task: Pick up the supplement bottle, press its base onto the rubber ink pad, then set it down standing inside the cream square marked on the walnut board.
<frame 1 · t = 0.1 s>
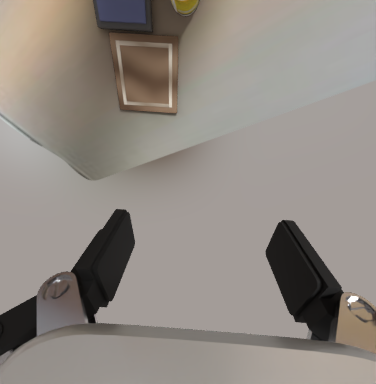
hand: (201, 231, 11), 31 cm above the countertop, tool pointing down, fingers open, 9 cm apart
marked board: (146, 76, 32), on the countertop
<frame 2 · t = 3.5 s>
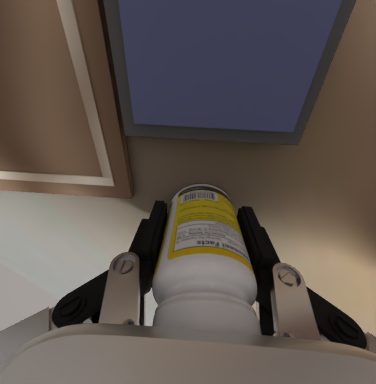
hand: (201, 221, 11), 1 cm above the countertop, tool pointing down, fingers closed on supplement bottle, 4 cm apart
marked board: (11, 95, 9), on the countertop
supplement bottle: (200, 207, 13), on the countertop, touching gripper
ink pad: (220, 28, 7), on the countertop
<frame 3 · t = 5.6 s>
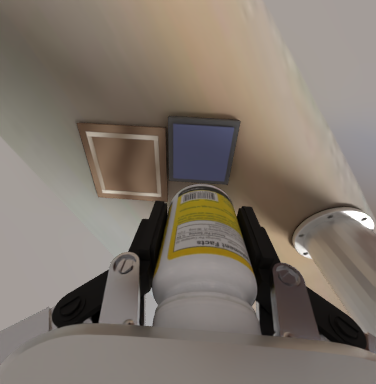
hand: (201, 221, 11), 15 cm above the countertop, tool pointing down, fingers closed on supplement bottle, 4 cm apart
marked board: (128, 165, 26), on the countertop
supplement bottle: (200, 207, 13), point 13 cm above the countertop, touching gripper
ink pad: (200, 151, 24), on the countertop
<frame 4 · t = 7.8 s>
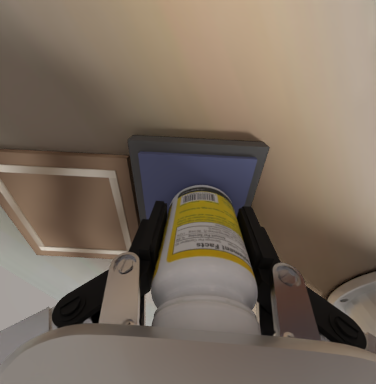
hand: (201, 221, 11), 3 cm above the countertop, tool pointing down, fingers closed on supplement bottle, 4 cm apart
marked board: (75, 212, 16), on the countertop
supplement bottle: (200, 208, 13), point 2 cm above the countertop, touching gripper
ink pad: (194, 192, 14), on the countertop
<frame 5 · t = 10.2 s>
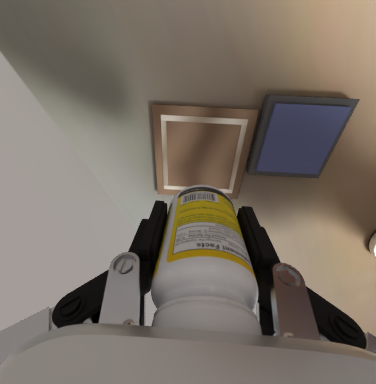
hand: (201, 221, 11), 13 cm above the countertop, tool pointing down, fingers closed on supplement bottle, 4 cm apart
marked board: (200, 156, 22), on the countertop
supplement bottle: (201, 208, 13), point 11 cm above the countertop, touching gripper
ink pad: (292, 138, 20), on the countertop
when the fingers open (3 cm above the countertop, at t = 12.1 s): supplement bottle drops 1 cm, resting on marked board.
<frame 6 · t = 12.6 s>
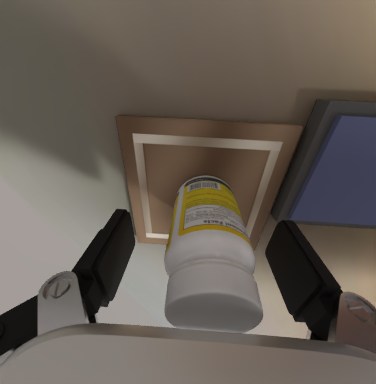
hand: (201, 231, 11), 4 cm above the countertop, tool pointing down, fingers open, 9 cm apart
marked board: (200, 194, 14), on the countertop
supplement bottle: (204, 197, 14), resting on marked board
ink pad: (349, 170, 12), on the countertop
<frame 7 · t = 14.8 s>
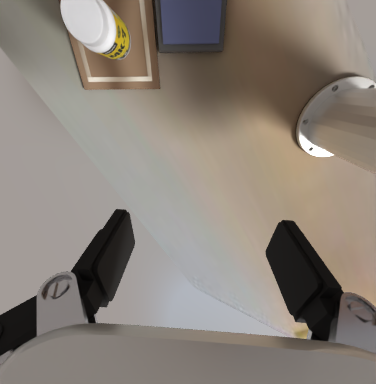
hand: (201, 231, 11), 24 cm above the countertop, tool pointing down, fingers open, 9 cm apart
marked board: (114, 39, 24), on the countertop
supplement bottle: (115, 39, 23), resting on marked board
ink pad: (190, 8, 22), on the countertop
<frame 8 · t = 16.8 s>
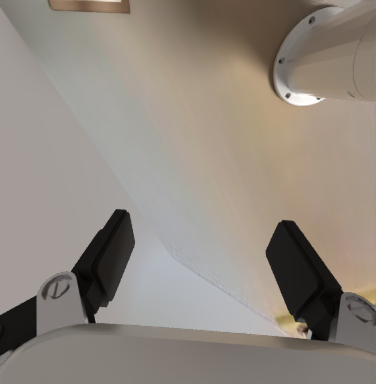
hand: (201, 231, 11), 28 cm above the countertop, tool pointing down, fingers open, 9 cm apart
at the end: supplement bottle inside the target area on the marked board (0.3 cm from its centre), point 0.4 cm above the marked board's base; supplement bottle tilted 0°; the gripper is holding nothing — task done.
